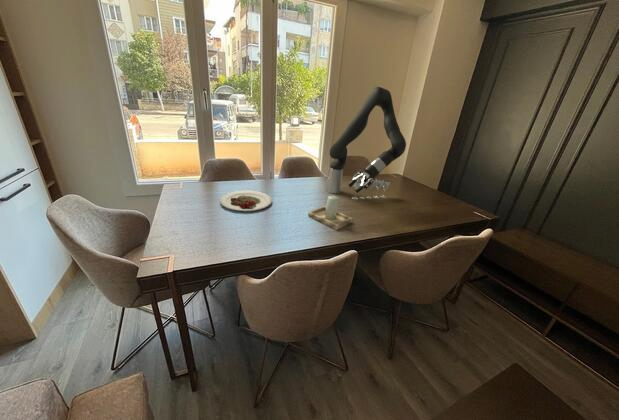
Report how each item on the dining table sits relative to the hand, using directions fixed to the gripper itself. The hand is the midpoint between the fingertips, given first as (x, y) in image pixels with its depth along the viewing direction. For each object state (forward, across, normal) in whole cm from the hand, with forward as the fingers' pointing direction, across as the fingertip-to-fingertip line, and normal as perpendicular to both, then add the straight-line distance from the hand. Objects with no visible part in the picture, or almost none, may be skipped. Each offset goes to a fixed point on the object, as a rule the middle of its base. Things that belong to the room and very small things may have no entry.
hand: (352, 188), depth 137 cm
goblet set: (-8, -28, +34) cm, 44 cm away
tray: (+20, 0, +5) cm, 21 cm away
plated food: (+51, -28, -25) cm, 64 cm away
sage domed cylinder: (+20, 0, +4) cm, 20 cm away
